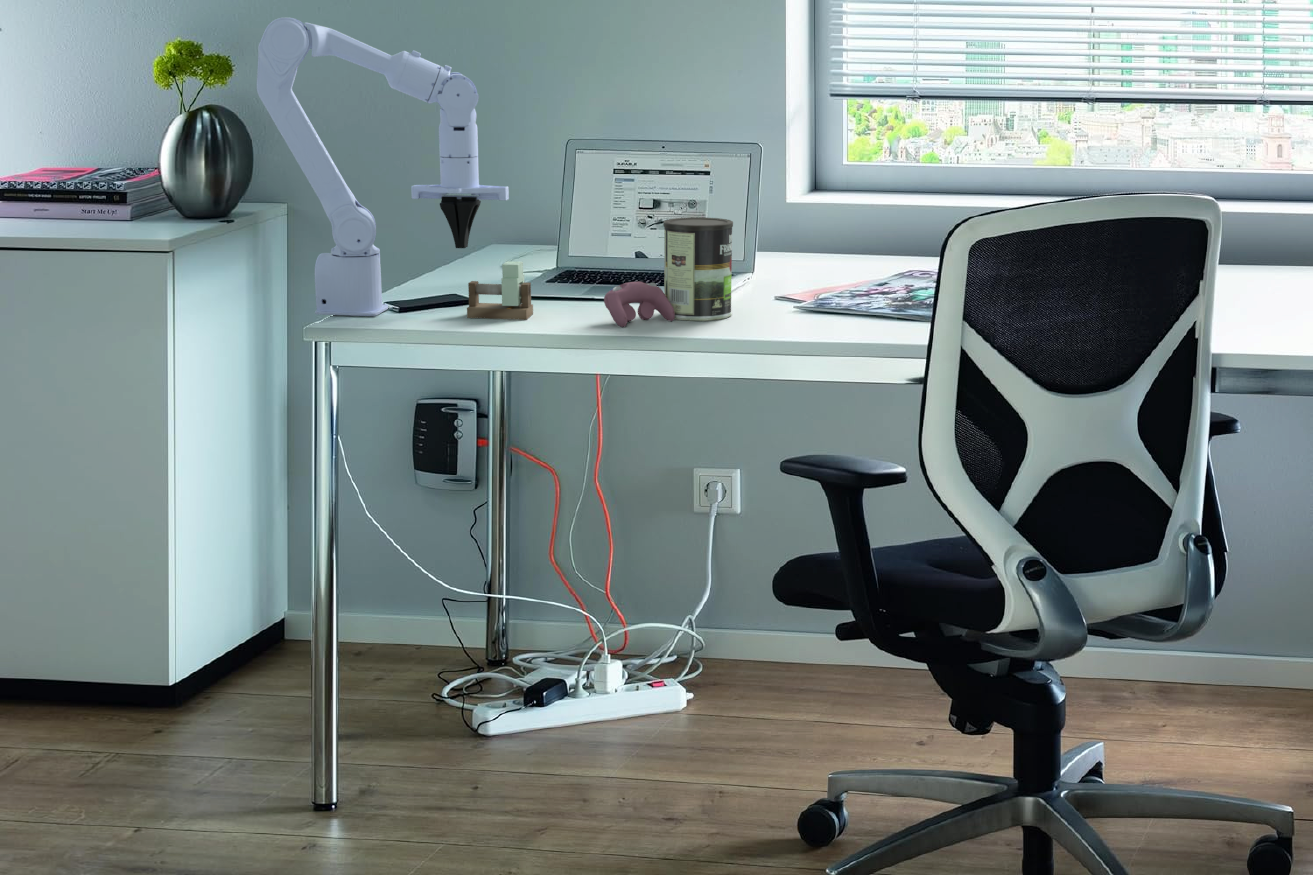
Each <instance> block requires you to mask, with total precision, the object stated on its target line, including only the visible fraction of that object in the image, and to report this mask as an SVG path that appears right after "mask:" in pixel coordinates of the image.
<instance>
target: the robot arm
mask: <svg viewBox="0 0 1313 875" xmlns="http://www.w3.org/2000/svg"><path fill="white" fill-rule="evenodd" d="M257 49H258V50H257V52H258V54H257V58H258V59H257V71H256V72H257V73H256V92H257V95H258V97H259V99H260V101H261V102H262V105H263V106H264V107H265V109H266V112H268V114H269V116H270V118H271V119H272V121H273V123H274V124H275V126H276V128H277V130H278V132H279V133H280V134H281V136H282V139H284V140H283V141H284V142H285V144H286V145H287V147H288V149H289V150H290V152H291V153H292V155H293V157H294V159H295V161H296V162H297V164H298V166H299V168H300V169H301V171H302V173H303V174H304V176H305V177H306V180H307V181H308V183H309V185H310V186H311V188H312V189H313V191H314V194H315V195H316V197H317V198H318V200H319V202H320V204H321V206H322V208H323V210H324V213H325V215H326V217H327V219H328V220H329V222H330V225H331V232H332V238H333V241H334V242H333V243H334V244H335V246H334V247H331V249H330V252H321V253H319V254H318V255H317V258H316V260H315V265H314V285H315V286H314V287H315V291H314V292H315V305H316V306H315V307H316V310H315V311H314V314H315V315H323V316H324V315H325V316H327V315H328V316H331V315H332V316H355V317H357V316H359V317H364V316H365V317H376V316H378V315H380V314H381V313H383V312H385V311H387V310H388V305H387V304H388V303H383V295H382V294H383V293H382V292H383V290H382V273H381V272H382V269H381V267H382V266H381V249H380V248H379V247H377V246H375V244H374V243H375V240H376V237H377V223H376V219H375V217H374V215H373V214H372V212H371V211H370V210H369V209H368V208H366V207H365V206H363V205H362V204H361V203H360V202H359V201H358V200H357V198H356V197H355V195H354V193H353V192H352V191H351V189H350V187H349V186H348V184H347V183H346V181H345V179H344V177H343V176H342V174H341V173H340V170H339V169H338V167H337V166H336V164H335V162H334V160H333V159H332V156H331V155H330V153H329V151H328V149H327V148H326V146H325V145H324V142H323V141H322V140H321V137H320V136H319V135H318V133H317V130H316V129H315V128H314V125H313V124H312V122H311V121H310V118H309V117H308V115H307V114H306V112H305V110H304V108H303V107H302V105H301V103H300V101H299V99H298V98H297V96H296V94H295V92H294V91H293V85H294V83H295V79H296V76H297V73H298V68H299V66H300V65H301V63H302V62H303V60H305V57H306V56H307V54H308V53H309V51H310V50H311V57H312V58H315V57H316V58H317V57H327V56H332V57H333V56H334V57H336V58H339V59H342V60H344V61H347V62H350V63H352V64H354V65H358V66H359V67H363V68H365V69H368V70H370V71H372V72H376V73H378V74H381V75H383V76H384V77H385V79H386V81H387V83H388V86H389V87H390V88H391V89H392V90H395V91H398V92H400V93H403V94H405V95H407V96H409V97H412V98H415V99H417V100H420V101H422V102H424V103H427V104H429V105H431V104H433V103H438V105H439V106H440V108H439V116H440V117H439V119H440V120H439V122H440V123H439V125H438V144H439V145H438V146H439V148H438V149H439V171H440V172H439V173H440V175H439V176H440V184H414V185H411V186H410V188H411V199H412V200H419V199H429V200H430V199H434V200H435V199H436V200H441V202H439V207H440V209H441V211H442V213H443V215H444V216H445V218H446V220H447V221H446V222H447V223H448V225H449V229H450V231H451V235H452V236H453V242H454V246H455V249H467V248H468V247H469V240H470V239H469V238H470V235H471V229H472V227H473V222H474V220H475V217H476V214H477V212H478V210H479V208H480V206H481V202H482V201H484V200H485V201H486V200H488V201H490V200H491V201H493V200H494V201H505V202H506V201H509V199H510V197H509V194H510V191H509V189H510V187H509V186H507V185H506V186H505V185H504V186H503V185H485V184H484V185H483V184H480V176H479V169H480V168H479V139H478V135H479V132H478V130H479V129H478V125H477V123H476V122H477V111H476V107H477V105H478V102H479V98H480V96H479V95H480V94H478V90H477V87H476V84H475V83H474V81H472V80H471V79H470V78H469V77H468V76H465V75H464V74H462V72H457V71H454V72H451V70H452V67H451V66H449V65H447V64H445V65H444V66H442V65H439V64H437V63H434V62H432V61H430V60H427V59H425V58H423V57H421V55H422V54H421V52H418V51H416V50H414V49H413V50H412V51H411V52H408V51H406V50H402V51H400V52H397V53H395V54H393V55H391V54H389V53H387V52H384V51H382V50H381V49H378V48H376V47H373V46H371V45H369V44H367V43H365V42H362V41H360V40H358V39H355V38H353V37H352V36H349V35H347V34H345V33H342V32H341V31H339V30H336V29H333V28H332V27H326V26H324V25H319V24H315V23H310V22H303V21H301V20H299V19H297V18H293V17H289V16H287V17H285V16H282V17H278V18H276V19H273V20H272V21H271V22H269V23H268V25H267V26H266V27H265V29H264V32H263V34H262V36H261V39H260V41H259V43H258V47H257ZM449 194H451V195H449ZM460 194H461V195H460ZM462 194H463V195H462ZM464 194H466V195H464ZM467 194H470V195H467ZM481 200H482V201H481Z"/></svg>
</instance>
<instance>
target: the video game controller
mask: <svg viewBox="0 0 1313 875" xmlns="http://www.w3.org/2000/svg"><path fill="white" fill-rule="evenodd" d="M603 302H604V306H605V308H606V309H607V310H608V312H609V314H610V316H611V318H612V319H613V321H614V322H615V324H616V325H617V326H619V327H620V328H626V326H627V324H628V323H630V322H632V321H633V320H635V319H636V316H637V315H638V317H639V318H640V319H641V320H642V321H648V320H650V319H652V318H653V316H654V313H655V311H657V312H658V313H659V314H660V315H661V316H662V317H663V319H665V320H666V321H667V322H673V321H675V319H674V318H675V312H674V309H673V306H672V305H671V303H670V302H669V300H668V299H667V297H666V296H665V294H664V291H663V290H662V288H661V287H659V286H657V284H656V283H655V282H650V283H647V282H643V281H631V282H625V283H621V284H619V285H618V286H615V287H612V288H611V289H610V290H608V291H607V292H606V294H604V297H603ZM634 303H635V304H636V303H639V305H638V307H637V311H636V310H635V308H634V307H633V306H632V305H631V304H634ZM636 312H637V313H636Z"/></svg>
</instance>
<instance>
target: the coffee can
mask: <svg viewBox="0 0 1313 875" xmlns="http://www.w3.org/2000/svg"><path fill="white" fill-rule="evenodd" d="M662 224H663V225H662V226H663V227H664V228H663V229H664V237H663V238H664V240H663V241H664V244H663V245H664V248H663V250H664V254H663V258H664V266H663V267H664V273H663V275H664V277H663V279H664V284H663V285H664V287H663V289H664V291H663V292H664V294H665V296H666V297H667V299H668V300H669V302H670V303H671V305H672V306H673V309H674V312H675V318H674V320H677V321H686V322H687V321H688V322H689V321H690V322H709V321H710V322H711V321H719V320H725V319H729V318H730V317H732V314H733V313H732V274H733V273H732V269H733V268H732V264H733V263H732V261H733V260H732V259H733V258H732V257H733V255H732V254H733V253H732V252H733V227H734V221H733V220H731V219H726V218H721V217H720V218H718V217H705V216H704V217H702V216H701V217H699V216H698V217H695V216H694V217H678V218H677V217H676V218H670V219H666V220H663V222H662Z"/></svg>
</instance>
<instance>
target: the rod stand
mask: <svg viewBox="0 0 1313 875" xmlns="http://www.w3.org/2000/svg"><path fill="white" fill-rule="evenodd" d="M467 285H468V307H466V318H467V319H487V320H489V319H491V320H492V319H493V320H521V321H522V320H523V321H524V320H526V321H527V320H528V319H529V318H530V317H532V316H533V315H534V304H533V303H532V283H531V282H527V281H526V282H525V281H524V283H523V284H521V285H519V296H521V304H520V305H519V306H502V303H497V302H495V303H494V302H492V303H491V302H480V295H485V296H486V295H490V296H502V283H479V280H471V281H470V282H468V284H467Z"/></svg>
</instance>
